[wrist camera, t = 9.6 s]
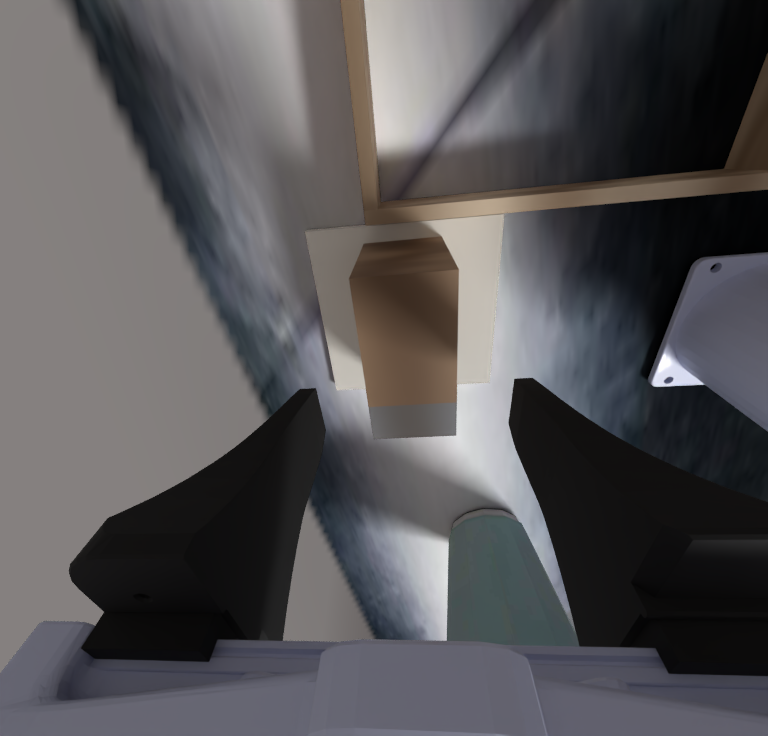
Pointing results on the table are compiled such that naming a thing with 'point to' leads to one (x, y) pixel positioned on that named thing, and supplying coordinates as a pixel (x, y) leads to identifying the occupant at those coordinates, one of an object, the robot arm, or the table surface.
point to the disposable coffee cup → (501, 586)
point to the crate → (741, 173)
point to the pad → (475, 300)
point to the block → (408, 335)
